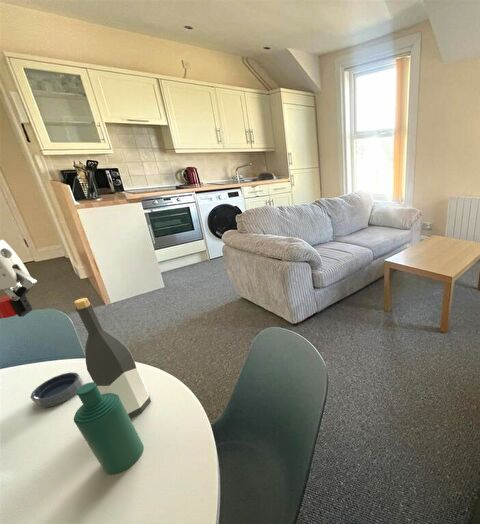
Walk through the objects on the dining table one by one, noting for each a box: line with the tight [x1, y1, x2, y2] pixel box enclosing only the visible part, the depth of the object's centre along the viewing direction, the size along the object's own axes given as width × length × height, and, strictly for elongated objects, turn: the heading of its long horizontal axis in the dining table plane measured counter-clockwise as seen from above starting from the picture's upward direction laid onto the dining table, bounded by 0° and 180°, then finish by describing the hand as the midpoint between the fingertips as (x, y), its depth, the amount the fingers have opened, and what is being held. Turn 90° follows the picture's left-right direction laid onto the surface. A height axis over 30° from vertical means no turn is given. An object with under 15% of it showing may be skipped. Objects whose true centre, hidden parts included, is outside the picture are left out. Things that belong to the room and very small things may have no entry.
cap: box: [0, 294, 18, 319], centre depth 64 cm, size 4×4×4 cm
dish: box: [29, 371, 84, 409], centre depth 73 cm, size 9×9×3 cm
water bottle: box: [73, 381, 145, 475], centre depth 54 cm, size 7×7×19 cm
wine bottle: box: [74, 297, 152, 419], centre depth 63 cm, size 8×8×30 cm
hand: (13, 314), depth 64 cm, fingers closed on cap, 3 cm apart
